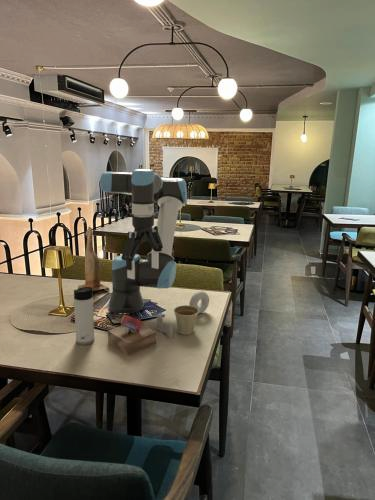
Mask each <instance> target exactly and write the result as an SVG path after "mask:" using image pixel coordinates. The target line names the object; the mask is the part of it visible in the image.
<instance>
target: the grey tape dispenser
mask: <svg viewBox="0 0 375 500" xmlns="http://www.w3.org/2000/svg"><path fill="white" fill-rule="evenodd" d="M163 320H164V317H163V315H161V314H159V315H156V324H155V327H156V329H157V330H158V331H159V332H160V333H161V332H162V333H165V334H166V335H167V337H168V338H169V339H171V338H173V336H174V323H173V322H172V321H171V322H169V321H165V322H164V321H163Z"/></svg>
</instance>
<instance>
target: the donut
mask: <svg viewBox="0 0 375 500" xmlns="http://www.w3.org/2000/svg"><path fill="white" fill-rule="evenodd" d="M200 300H201V302H200V304H199V305H198V303H199V301H200ZM209 304H210V297H209V295H208V294H207V293H206V291H203V290H201V291H199V290H198V291H196V292H195V293H194V294H193V295H192V296H191V298H190V300H189V305H188V306H194V307H196V308H197V309H198V310H199V313H198V314H197V315H200V314H202V313H203V314H204V312H205V311H206V310H207V309H208V306H209Z"/></svg>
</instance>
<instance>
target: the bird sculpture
mask: <svg viewBox="0 0 375 500" xmlns="http://www.w3.org/2000/svg"><path fill="white" fill-rule="evenodd" d="M93 235H94V233H93V229H92V227H91V226H88V227H87V229H86V231H85V237H87V241H86V249H85V256H84V257H85V258H84V278H85V281H84V284H80V285H78V287H77V289H80V288H82V287H91V288H92V292H96V291H100V290H102V289H104V290H107V291H110V287H108V286H105V285H104V284H101V267H100V259H99V256H98V255H97V254H96V252H95V250H94V242H93V239H94V237H93Z"/></svg>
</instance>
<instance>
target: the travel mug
mask: <svg viewBox="0 0 375 500" xmlns="http://www.w3.org/2000/svg"><path fill="white" fill-rule="evenodd" d="M93 292H94V291H92V288H91V287H82V288H80V289H78V288H77V289H74V290H73V299H74V300H73V301H74V302H73V303H74V305H73V306H74V321H75V322H74V325H75V326H74V327H75V328H74V329H75V343H76V344H78V345H80V346H87V345H91V344H92V343H94V341H95V320H94V318H95V317H94V296H93Z"/></svg>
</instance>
